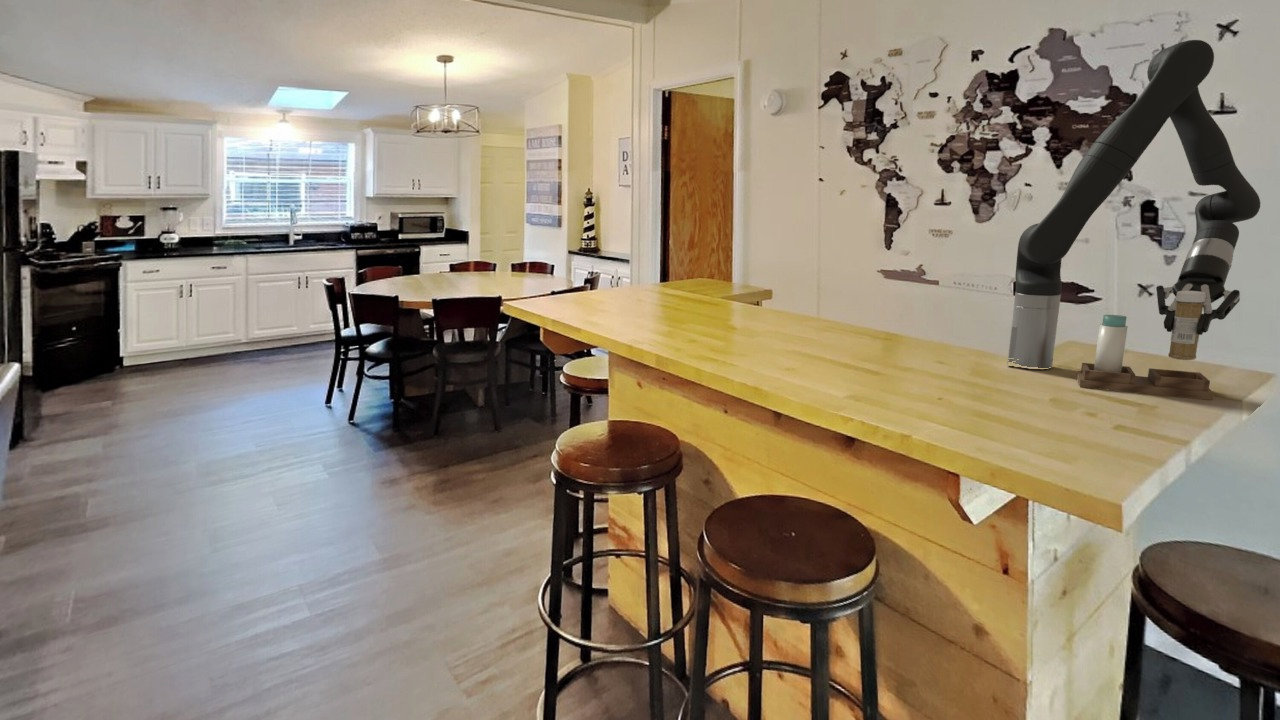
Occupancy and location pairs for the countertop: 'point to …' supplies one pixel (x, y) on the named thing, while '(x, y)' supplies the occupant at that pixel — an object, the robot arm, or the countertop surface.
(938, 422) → the countertop surface
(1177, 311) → the sprinkles bottle
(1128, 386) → the pocket board
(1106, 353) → the bottle
